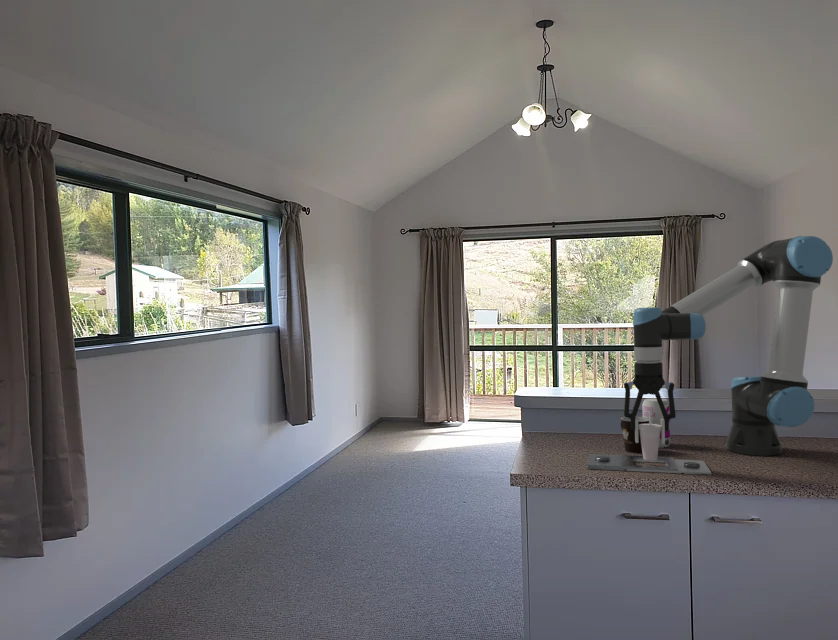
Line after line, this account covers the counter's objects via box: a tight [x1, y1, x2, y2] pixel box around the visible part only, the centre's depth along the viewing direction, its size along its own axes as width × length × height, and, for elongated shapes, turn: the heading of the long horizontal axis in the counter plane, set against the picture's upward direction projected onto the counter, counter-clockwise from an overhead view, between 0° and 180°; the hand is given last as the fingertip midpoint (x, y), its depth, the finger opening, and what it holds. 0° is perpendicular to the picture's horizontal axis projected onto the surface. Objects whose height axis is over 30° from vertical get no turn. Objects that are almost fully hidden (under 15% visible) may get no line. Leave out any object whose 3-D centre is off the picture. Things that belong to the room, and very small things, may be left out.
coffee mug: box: [620, 416, 649, 454], centre depth 194 cm, size 12×9×10 cm
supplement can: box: [641, 397, 671, 449], centre depth 199 cm, size 8×8×15 cm
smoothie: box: [638, 410, 662, 461], centre depth 174 cm, size 6×6×14 cm
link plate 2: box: [625, 458, 713, 476], centre depth 173 cm, size 22×13×1 cm, turn 73°
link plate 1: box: [587, 453, 678, 472], centre depth 176 cm, size 24×13×2 cm, turn 73°
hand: (649, 442), depth 174 cm, fingers closed on smoothie, 6 cm apart
